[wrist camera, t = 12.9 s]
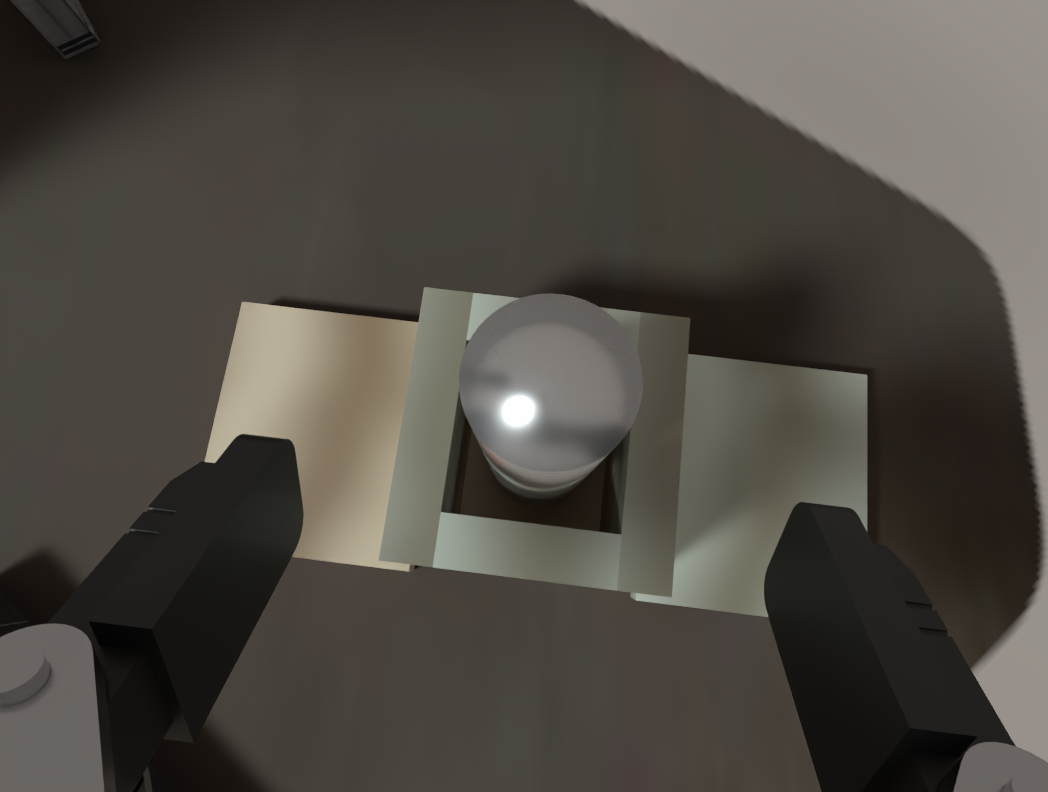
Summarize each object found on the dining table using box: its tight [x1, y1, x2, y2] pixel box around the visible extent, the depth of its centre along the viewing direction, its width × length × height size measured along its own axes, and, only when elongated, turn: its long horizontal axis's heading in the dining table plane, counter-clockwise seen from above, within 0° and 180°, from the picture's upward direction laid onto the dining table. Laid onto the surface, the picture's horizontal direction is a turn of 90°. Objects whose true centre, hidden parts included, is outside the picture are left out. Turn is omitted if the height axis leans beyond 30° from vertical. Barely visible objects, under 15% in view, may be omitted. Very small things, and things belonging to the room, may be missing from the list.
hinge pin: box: [459, 293, 643, 506], centre depth 15 cm, size 3×3×10 cm
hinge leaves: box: [205, 287, 867, 617], centre depth 18 cm, size 21×8×6 cm, turn 83°
